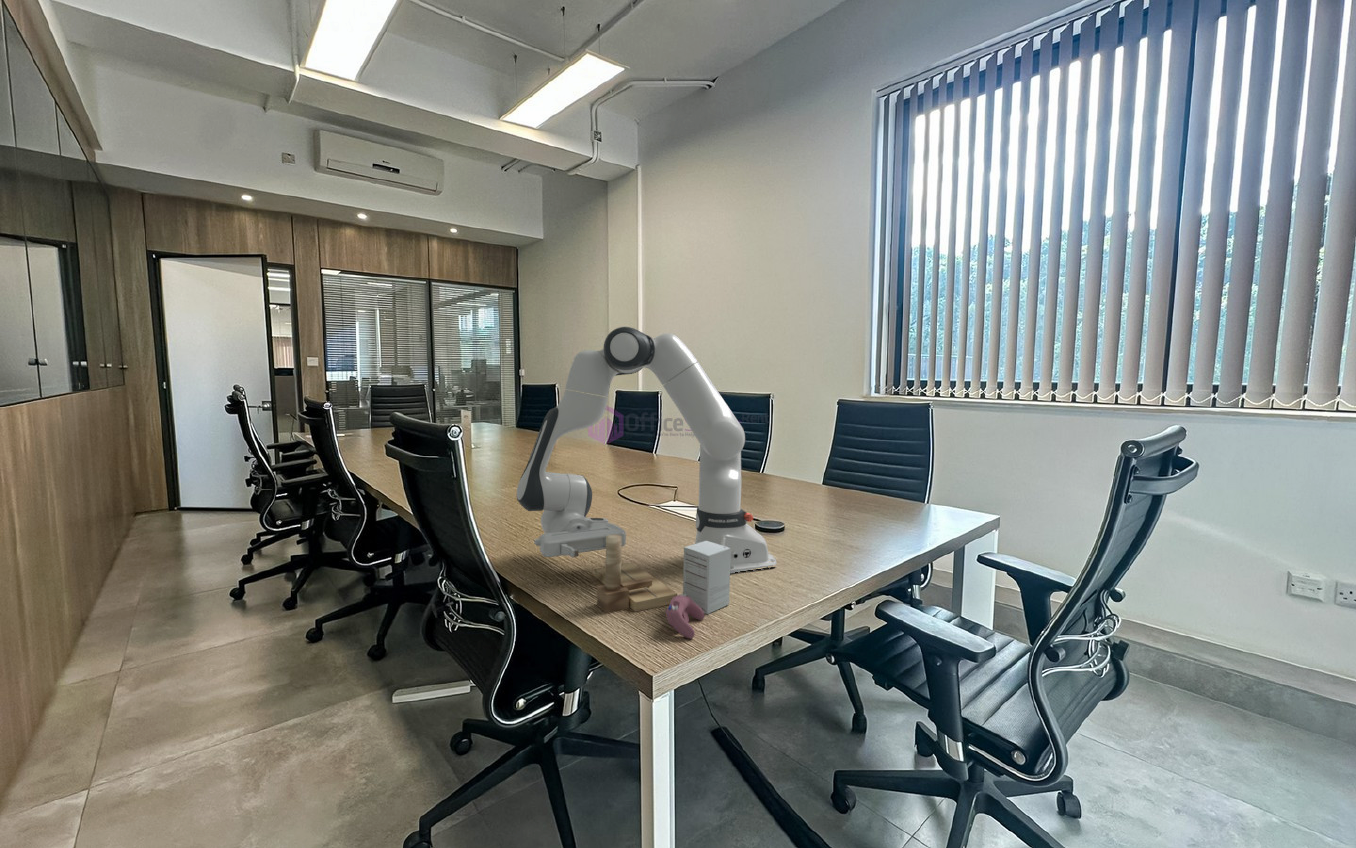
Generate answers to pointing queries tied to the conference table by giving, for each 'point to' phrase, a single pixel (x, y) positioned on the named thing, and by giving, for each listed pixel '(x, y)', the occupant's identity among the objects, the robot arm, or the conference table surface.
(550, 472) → the robot arm
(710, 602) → the supplement box
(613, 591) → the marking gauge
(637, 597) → the board
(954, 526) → the conference table surface
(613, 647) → the conference table surface
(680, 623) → the video game controller
